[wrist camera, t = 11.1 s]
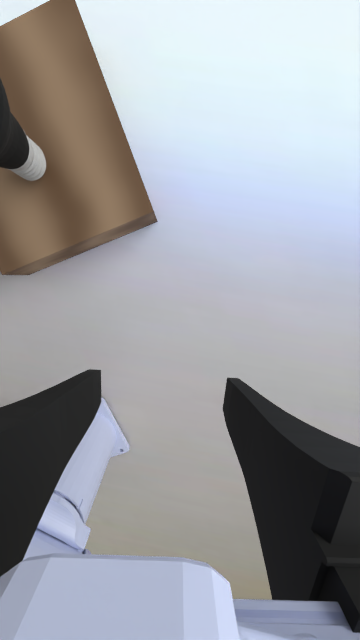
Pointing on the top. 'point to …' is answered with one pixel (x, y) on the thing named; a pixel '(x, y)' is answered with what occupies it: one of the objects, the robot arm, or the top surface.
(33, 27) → the walnut plinth
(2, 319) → the top surface
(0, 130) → the light bulb
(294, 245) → the top surface
